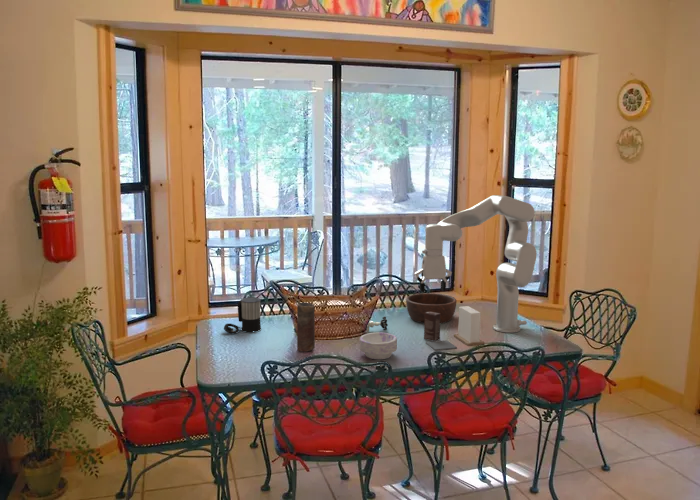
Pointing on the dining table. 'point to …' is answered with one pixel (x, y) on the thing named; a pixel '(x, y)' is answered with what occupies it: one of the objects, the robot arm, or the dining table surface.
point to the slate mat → (441, 345)
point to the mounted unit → (469, 326)
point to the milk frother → (247, 315)
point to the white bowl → (378, 345)
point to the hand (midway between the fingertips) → (432, 291)
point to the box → (432, 326)
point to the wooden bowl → (431, 306)
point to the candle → (305, 327)
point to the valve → (382, 324)
